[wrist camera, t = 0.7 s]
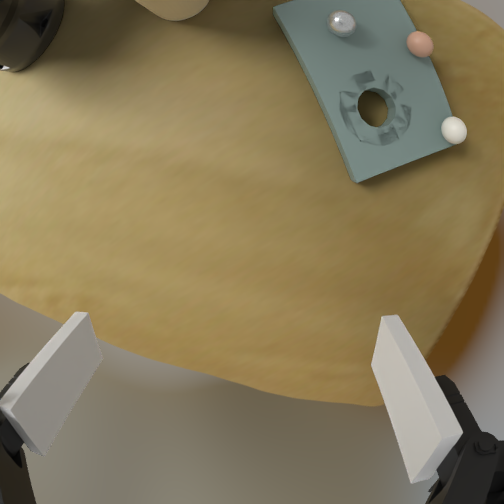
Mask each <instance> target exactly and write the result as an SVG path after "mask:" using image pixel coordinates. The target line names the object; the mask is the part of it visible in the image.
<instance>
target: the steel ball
mask: <svg viewBox="0 0 504 504" xmlns="http://www.w3.org/2000/svg"><path fill="white" fill-rule="evenodd" d="M326 23H327V27H328V29H329V30H330V32H331V33H333V34H334V35H336V36H339V37H347V36H350V35H352V34H353V33H354V32H355V30H356V28H357V22H356V19H355V18H354V16H353V15H352V14H351V13H349V12H347V11H344V10H336V11H333V12H332V13H330V14H329V16H328V17H327V21H326Z"/></svg>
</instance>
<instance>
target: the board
mask: <svg viewBox="0 0 504 504" xmlns="http://www.w3.org/2000/svg"><path fill="white" fill-rule="evenodd" d="M336 10H344V11H347V12H349V13H351V14H352V15H353V16H354V18H355V19H356V22H357V28H356V30H355V32H354V33H353V34H352V35H350V36H347V37H339V36H336V35H334V34H333V33H331V32H330V30H329V29H328V27H327V23H326V21H327V17H328V16H329V14H330V13H332V12H333V11H336ZM273 16H274V17H275V19H276V21H277V22H278V24H279V26H280V28H281V29H282V31H283V33H284V35H285V37H286V38H287V40H288V42H289V44H290V46H291V48H292V50H293V51H294V53H295V55H296V57H297V59H298V61H299V63H300V65H301V67H302V69H303V71H304V73H305V75H306V77H307V79H308V81H309V83H310V85H311V87H312V89H313V91H314V94H315V96H316V98H317V100H318V102H319V104H320V106H321V109H322V111H323V113H324V115H325V118H326V120H327V122H328V124H329V127H330V129H331V131H332V134H333V136H334V138H335V141H336V143H337V146H338V148H339V151H340V153H341V155H342V158H343V161H344V163H345V166H346V168H347V171H348V173H349V176H350V179H351V180H352V181H354V182H356V183H358V182H360V181H363V180H365V179H368V178H370V177H373V176H375V175H378V174H381V173H383V172H386V171H388V170H391V169H393V168H396V167H398V166H401V165H404V164H406V163H409V162H411V161H414V160H416V159H419V158H422V157H424V156H427V155H430V154H432V153H435V152H437V151H440V150H443V149H445V148H448V147H451V146H453V145H456V144H452V143H450V142H448V141H447V140H446V139H445V138H444V137H443V135H442V131H441V126H442V123H443V121H444V120H445V119H446V118H448V117H453V116H452V113H451V110H450V107H449V104H448V101H447V99H446V96H445V93H444V91H443V88H442V85H441V83H440V80H439V78H438V76H437V73H436V71H435V68H434V66H433V64H432V62H431V59H430V57H429V56H428V57H417V56H415V55H414V54H412V53H411V52H410V51H409V49H408V47H407V43H406V41H407V37H408V35H409V34H410V33H412V32H415V31H417V30H416V28H415V26H414V25H413V23H412V21H411V19H410V17H409V15H408V14H407V12H406V10H405V8H404V7H403V5H402V3H401V1H400V0H293V1H290V2H287V3H284V4H280V5H277V6H274V7H273ZM367 90H368V91H372V92H376V93H378V94H379V95H380V96H381V97H382V98H383V99H384V100H385V102H386V105H387V107H388V115H387V119H386V120H385V122H384V123H383V124H382V126H379V127H372V126H369V125H368V124H367V123H366V122H365V121H364V120H362V119H361V116H360V114H359V112H358V109H357V106H358V98H359V97H360V95H361V94H362V93H363V91H367Z"/></svg>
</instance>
